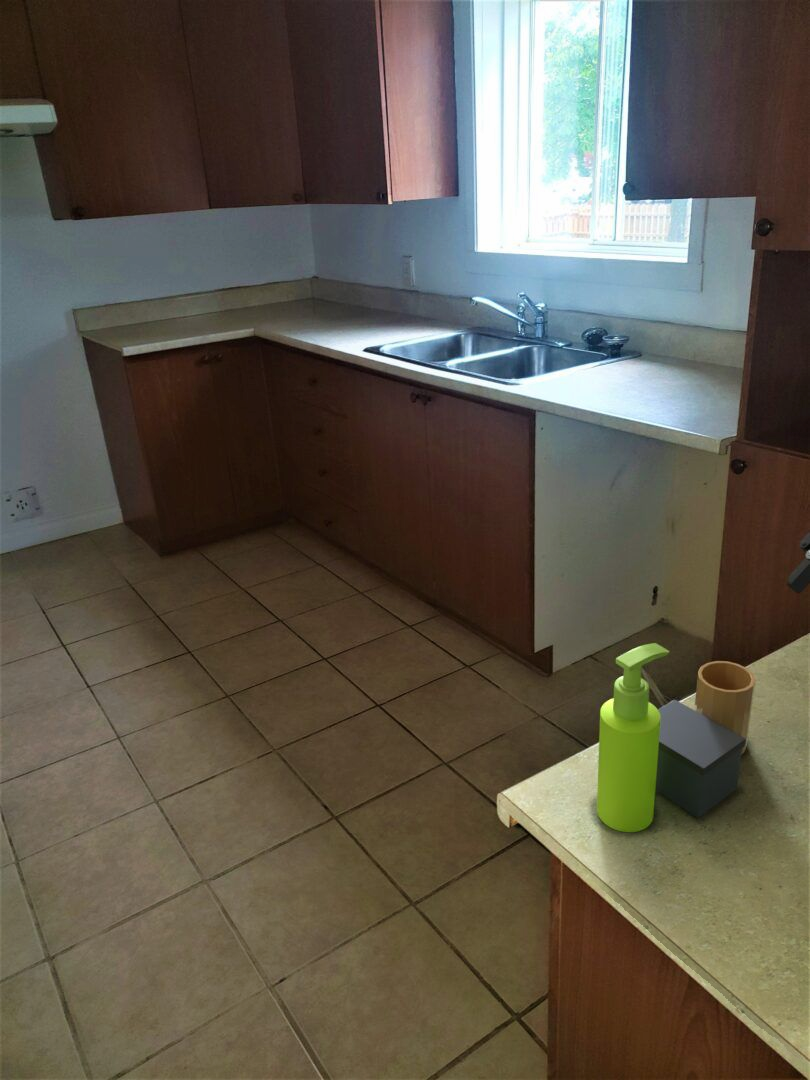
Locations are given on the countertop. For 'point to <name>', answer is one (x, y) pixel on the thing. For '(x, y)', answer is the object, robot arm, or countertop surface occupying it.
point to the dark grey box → (696, 759)
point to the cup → (726, 695)
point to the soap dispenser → (629, 746)
